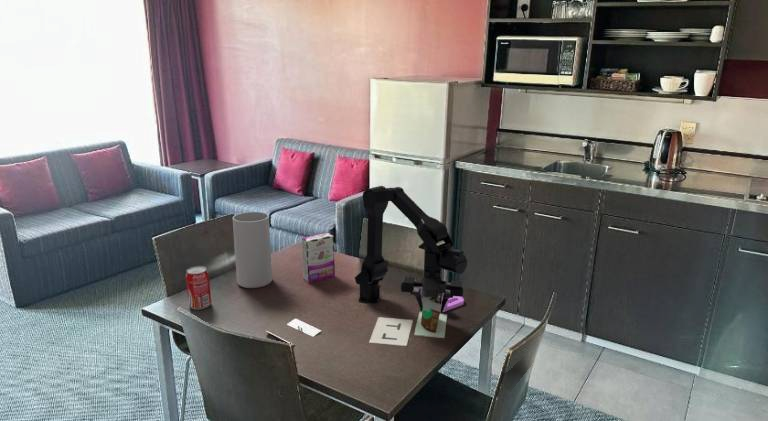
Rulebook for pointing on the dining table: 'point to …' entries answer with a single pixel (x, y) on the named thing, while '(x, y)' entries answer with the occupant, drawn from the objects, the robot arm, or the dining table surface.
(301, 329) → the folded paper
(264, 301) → the dining table surface
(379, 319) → the pad
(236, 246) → the cylinder vase
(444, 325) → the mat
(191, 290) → the soda can
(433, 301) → the food container
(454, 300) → the bracket
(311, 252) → the candy bar box
